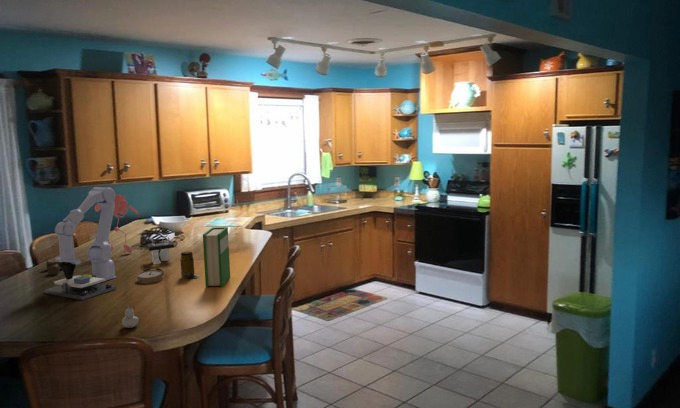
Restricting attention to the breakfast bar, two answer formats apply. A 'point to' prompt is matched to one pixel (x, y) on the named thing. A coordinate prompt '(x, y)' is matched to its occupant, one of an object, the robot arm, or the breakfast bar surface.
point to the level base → (80, 290)
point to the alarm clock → (150, 276)
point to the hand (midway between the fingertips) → (69, 278)
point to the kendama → (53, 267)
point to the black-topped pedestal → (160, 250)
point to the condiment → (187, 266)
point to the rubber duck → (129, 318)
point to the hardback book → (216, 256)
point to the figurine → (119, 208)
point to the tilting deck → (71, 282)
